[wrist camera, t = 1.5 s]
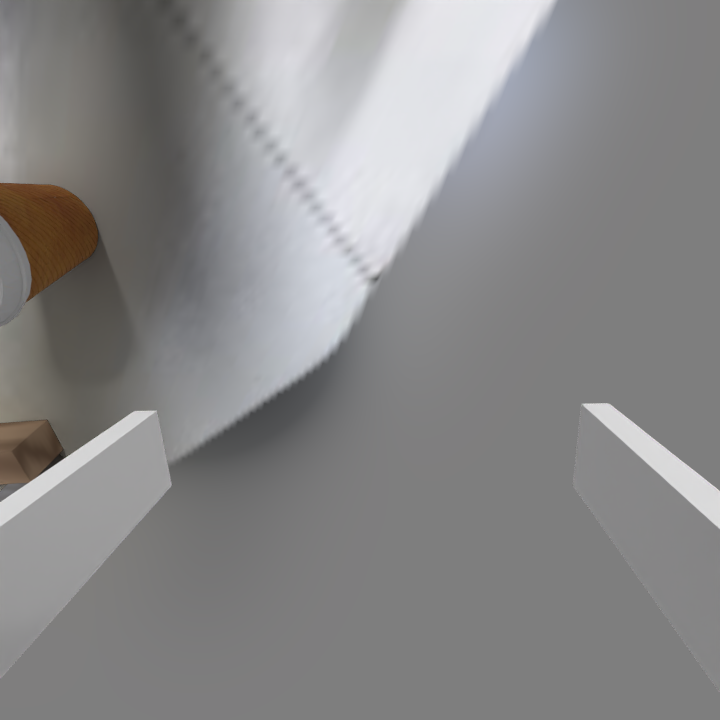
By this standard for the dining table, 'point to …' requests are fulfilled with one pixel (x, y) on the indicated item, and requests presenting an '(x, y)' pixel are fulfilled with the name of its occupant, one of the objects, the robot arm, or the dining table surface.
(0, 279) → the disposable coffee cup
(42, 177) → the dining table surface
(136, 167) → the dining table surface
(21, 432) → the bar
